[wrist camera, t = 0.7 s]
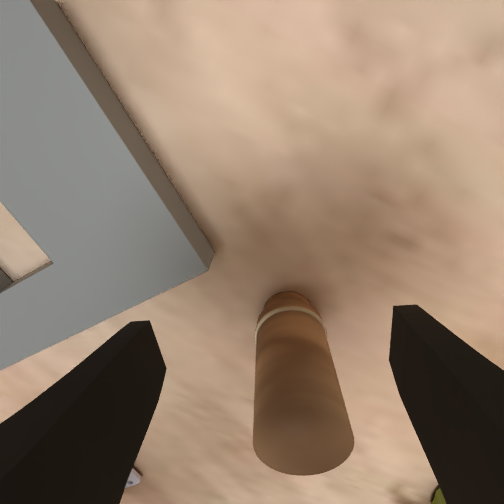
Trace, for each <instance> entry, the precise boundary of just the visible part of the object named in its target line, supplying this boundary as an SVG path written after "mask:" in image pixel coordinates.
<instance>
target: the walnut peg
mask: <svg viewBox="0 0 504 504" xmlns="http://www.w3.org/2000/svg"><path fill="white" fill-rule="evenodd" d="M255 344H256V367H255V397H254V427H253V447H254V450H255V453H256V455H257V456H258V458H259V459H260V460H261V461H262V462H263V463H264V464H266V465H267V466H269V467H270V468H272V469H274V470H276V471H279V472H282V473H286V474H291V475H315V474H320V473H324V472H327V471H329V470H332V469H334V468H336V467H337V466H339V465H340V464H342V463H343V462H344V461H345V460H346V459H347V458H348V457H349V456H350V454H351V452H352V450H353V447H354V436H353V432H352V429H351V425H350V422H349V418H348V414H347V411H346V407H345V403H344V400H343V396H342V392H341V389H340V385H339V381H338V378H337V374H336V371H335V367H334V363H333V360H332V356H331V352H330V349H329V345H328V341H327V331H326V327H325V325H324V323H323V321H322V319H321V317H320V314H319V313H318V311H317V310H316V309H315V308H314V307H313V306H311V304H310V302H309V301H308V300H307V299H306V298H305V297H304V296H302V295H301V294H298V293H295V292H282V293H278V294H276V295H274V296H272V297H271V298H270V299H269V300H268V301H267V303H266V304H265V306H264V310H263V311H262V313H261V314H260V316H259V318H258V321H257V327H256V330H255Z"/></svg>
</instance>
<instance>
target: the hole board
mask: <svg viewBox="0 0 504 504" xmlns="http://www.w3.org/2000/svg"><path fill="white" fill-rule="evenodd" d="M0 202H1V203H2V204H3V205H4V206H5V207H6V209H7V210H8V211H9V212H10V213H11V214H12V216H13V217H14V218H15V219H16V220H17V221H18V223H19V224H20V225H21V226H22V227H23V228H24V229H25V231H26V232H27V233H28V234H29V235H30V236H31V238H32V239H33V240H34V241H35V242H36V243H37V245H38V246H39V247H40V248H41V249H42V250H43V251H44V253H45V254H46V255H47V256H48V257H49V258H50V260H51V261H50V262H48V263H46V264H45V265H43V266H41V267H39V268H38V269H36V270H34V271H32V272H30V273H29V274H27V275H25V276H23V277H21V278H20V279H18V280H16V281H14V282H13V281H12V280H11V279H10V278H9V277H8V276H7V275H6V274H5V273H4V272H3V271H2V270H1V269H0V370H2V369H4V368H6V367H9V366H11V365H13V364H15V363H17V362H19V361H21V360H23V359H25V358H27V357H29V356H31V355H34V354H36V353H38V352H40V351H42V350H44V349H46V348H48V347H50V346H52V345H54V344H56V343H58V342H61V341H63V340H65V339H67V338H69V337H71V336H73V335H75V334H77V333H79V332H81V331H83V330H86V329H88V328H90V327H92V326H94V325H96V324H98V323H100V322H102V321H104V320H106V319H108V318H111V317H113V316H115V315H117V314H119V313H121V312H123V311H125V310H127V309H129V308H131V307H133V306H136V305H138V304H140V303H142V302H144V301H146V300H148V299H150V298H152V297H154V296H156V295H158V294H160V293H163V292H165V291H167V290H169V289H171V288H173V287H175V286H177V285H179V284H181V283H183V282H185V281H188V280H190V279H192V278H194V277H196V276H198V275H200V274H202V273H204V272H206V271H208V270H209V267H210V264H211V261H212V258H213V255H214V252H215V251H214V250H213V248H212V246H211V245H210V243H209V242H208V240H207V239H206V237H205V235H204V234H203V232H202V231H201V229H200V228H199V226H198V224H197V223H196V221H195V220H194V218H193V216H192V215H191V213H190V212H189V210H188V209H187V207H186V205H185V204H184V202H183V201H182V199H181V198H180V196H179V194H178V193H177V191H176V190H175V188H174V187H173V185H172V183H171V182H170V180H169V179H168V177H167V176H166V174H165V172H164V171H163V169H162V168H161V166H160V164H159V163H158V161H157V160H156V158H155V157H154V155H153V153H152V152H151V150H150V149H149V147H148V146H147V144H146V142H145V141H144V139H143V138H142V136H141V135H140V133H139V131H138V130H137V128H136V127H135V125H134V124H133V122H132V120H131V119H130V117H129V116H128V114H127V112H126V111H125V109H124V108H123V106H122V105H121V103H120V101H119V100H118V98H117V97H116V95H115V94H114V92H113V90H112V89H111V87H110V86H109V84H108V83H107V81H106V79H105V78H104V76H103V75H102V73H101V72H100V70H99V68H98V67H97V65H96V64H95V62H94V60H93V59H92V57H91V56H90V54H89V53H88V51H87V49H86V48H85V46H84V45H83V43H82V42H81V40H80V38H79V37H78V35H77V34H76V32H75V31H74V29H73V27H72V26H71V24H70V23H69V21H68V19H67V18H66V16H65V15H64V13H63V12H62V10H61V8H60V7H59V5H58V4H57V2H56V1H54V0H0Z"/></svg>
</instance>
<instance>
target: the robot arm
mask: <svg viewBox="0 0 504 504" xmlns="http://www.w3.org/2000/svg"><path fill="white" fill-rule="evenodd" d="M389 361H390V365H391V368H392V372H393V375H394V378H395V382H396V385H397V388H398V391H399V394H400V397H401V399H402V401H403V404H404V406H405V408H406V411H407V413H408V415H409V418H410V420H411V422H412V425H413V427H414V429H415V431H416V434H417V436H418V438H419V441H420V443H421V445H422V447H423V450H424V452H425V454H426V456H427V459H428V461H429V463H430V466H431V468H432V470H433V472H434V475H435V477H436V479H437V481H438V484H439V486H440V489H441V491H442V494H443V496H444V499H445V501H446V504H504V370H502V369H501V368H499V367H498V366H497V365H495V364H494V363H492V362H491V361H490V360H488V359H487V358H485V357H484V356H483V355H481V354H480V353H479V352H477V351H476V350H475V349H473V348H472V347H471V346H469V345H468V344H467V343H465V342H464V341H463V340H461V339H460V338H459V337H457V336H456V335H455V334H454V333H452V332H451V331H450V330H448V329H447V328H446V327H445V326H443V325H442V324H441V323H440V322H438V321H437V320H436V319H434V318H433V317H432V316H431V315H429V314H428V313H427V312H426V311H424V310H423V309H422V308H420V307H419V306H418V305H401V306H393V318H392V330H391V342H390V354H389ZM165 373H166V366H165V363H164V360H163V357H162V354H161V351H160V349H159V346H158V343H157V340H156V337H155V334H154V332H153V329H152V326H151V323H150V321H133V322H130V323H129V324H127V325H126V326H125V327H123V328H122V329H121V330H120V331H118V332H117V333H116V334H115V335H113V336H112V337H111V338H110V339H109V340H107V341H106V342H105V343H104V344H103V345H101V346H100V347H99V348H98V349H97V350H95V351H94V352H93V353H92V354H91V355H89V356H88V357H87V358H86V359H85V360H83V361H82V362H81V363H80V364H79V365H77V366H76V367H75V368H74V369H73V370H71V371H70V372H69V373H68V374H66V375H65V376H64V377H62V378H61V379H60V380H59V381H57V382H56V383H55V384H53V385H52V386H51V387H50V388H48V389H47V390H46V391H44V392H43V393H42V394H41V395H39V396H38V397H37V398H35V399H34V400H33V401H32V402H30V403H29V404H28V405H26V406H25V407H23V408H22V409H21V410H19V411H18V412H16V413H15V414H14V415H12V416H11V417H9V418H8V419H7V420H5V421H4V422H2V423H1V424H0V504H120V501H121V498H122V495H123V492H124V489H125V488H127V487H130V486H133V485H137V484H139V483H140V481H141V476H140V474H138V473H137V472H136V471H135V470H134V469H133V465H134V463H135V460H136V458H137V455H138V452H139V450H140V447H141V445H142V442H143V440H144V437H145V435H146V432H147V430H148V427H149V424H150V422H151V419H152V417H153V414H154V411H155V409H156V406H157V403H158V401H159V397H160V393H161V389H162V386H163V381H164V377H165Z"/></svg>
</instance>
